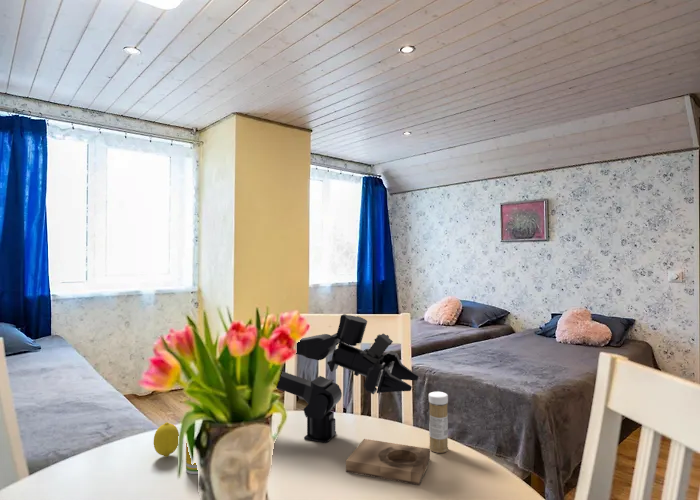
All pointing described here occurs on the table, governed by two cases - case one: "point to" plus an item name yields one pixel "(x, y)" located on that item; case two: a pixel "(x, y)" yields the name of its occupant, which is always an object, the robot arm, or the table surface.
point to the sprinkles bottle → (438, 422)
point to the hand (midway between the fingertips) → (414, 383)
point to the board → (389, 461)
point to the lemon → (166, 439)
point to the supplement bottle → (189, 467)
